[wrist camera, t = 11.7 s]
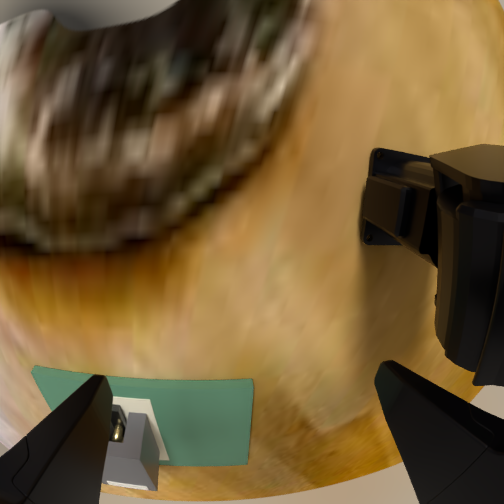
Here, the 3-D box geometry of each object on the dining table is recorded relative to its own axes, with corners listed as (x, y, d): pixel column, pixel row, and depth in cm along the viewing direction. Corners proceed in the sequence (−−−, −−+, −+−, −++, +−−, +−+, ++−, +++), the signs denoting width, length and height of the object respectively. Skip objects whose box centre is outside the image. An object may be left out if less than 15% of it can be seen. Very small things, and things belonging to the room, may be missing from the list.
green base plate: (252, 378, 23) (253, 388, 22) (246, 457, 28) (247, 465, 27) (34, 365, 20) (30, 373, 19) (81, 447, 25) (79, 453, 24)
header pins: (120, 404, 21) (114, 426, 19) (141, 454, 24) (139, 472, 22) (107, 403, 21) (101, 424, 19) (131, 453, 24) (128, 471, 22)
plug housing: (146, 413, 22) (139, 460, 17) (159, 451, 24) (157, 491, 19) (88, 407, 21) (75, 450, 16) (109, 446, 23) (102, 484, 19)
